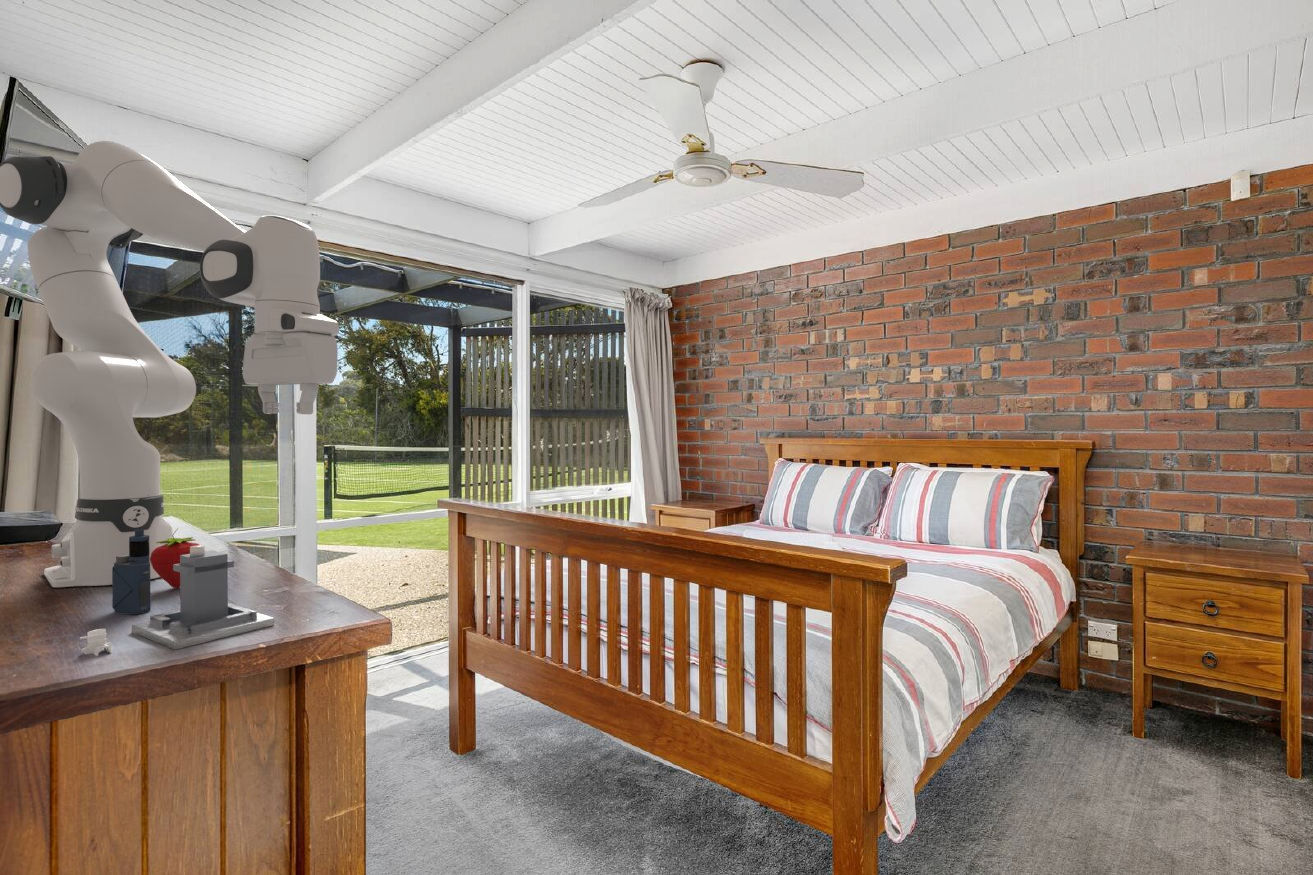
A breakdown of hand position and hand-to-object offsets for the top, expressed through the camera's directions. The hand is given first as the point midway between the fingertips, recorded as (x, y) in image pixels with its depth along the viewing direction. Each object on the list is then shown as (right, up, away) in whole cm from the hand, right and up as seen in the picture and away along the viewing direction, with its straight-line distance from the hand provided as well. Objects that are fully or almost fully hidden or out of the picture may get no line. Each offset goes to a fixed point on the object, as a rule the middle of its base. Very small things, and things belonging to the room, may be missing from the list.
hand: (287, 414), depth 104 cm
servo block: (-4, -29, -14) cm, 33 cm away
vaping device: (-19, -29, -6) cm, 35 cm away
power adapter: (-9, -30, -24) cm, 40 cm away
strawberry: (-22, -29, +7) cm, 37 cm away
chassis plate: (-4, -29, -14) cm, 33 cm away
